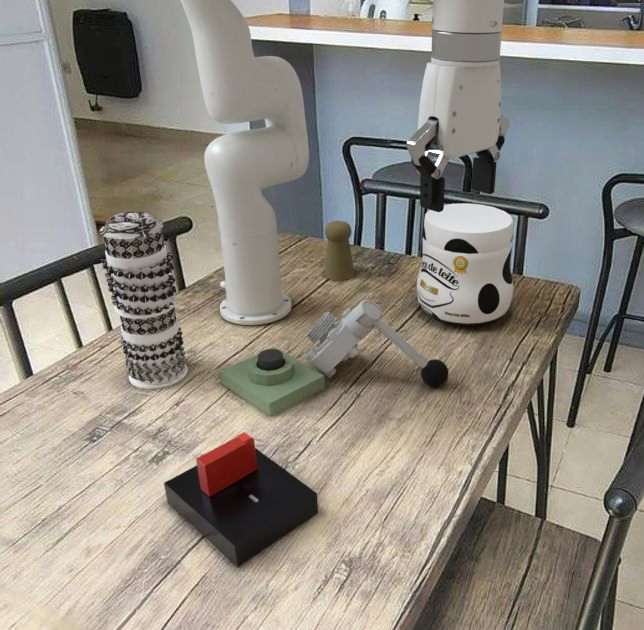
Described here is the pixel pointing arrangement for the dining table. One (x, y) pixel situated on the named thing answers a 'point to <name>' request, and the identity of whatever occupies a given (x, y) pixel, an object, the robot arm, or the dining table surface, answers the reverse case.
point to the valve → (354, 327)
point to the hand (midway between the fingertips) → (458, 199)
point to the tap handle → (226, 464)
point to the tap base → (244, 508)
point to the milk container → (466, 264)
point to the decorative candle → (144, 299)
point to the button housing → (272, 383)
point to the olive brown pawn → (338, 251)
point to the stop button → (270, 359)
